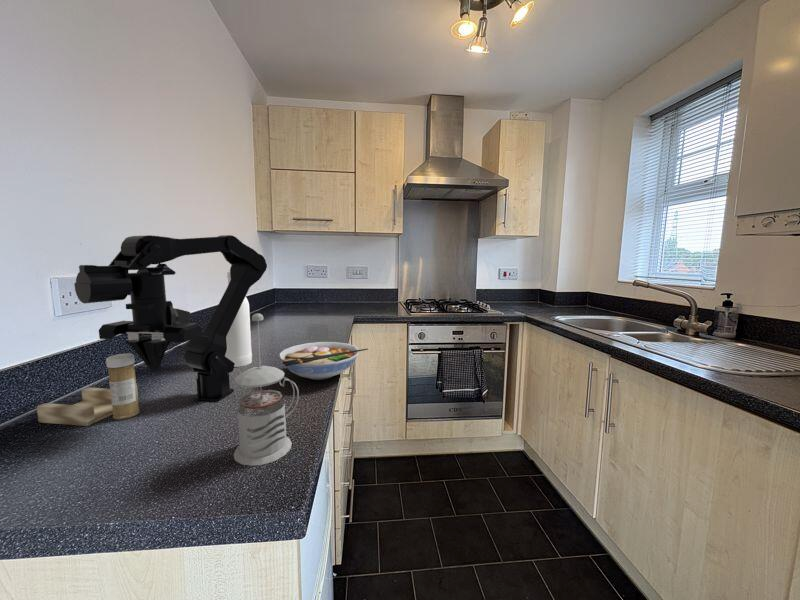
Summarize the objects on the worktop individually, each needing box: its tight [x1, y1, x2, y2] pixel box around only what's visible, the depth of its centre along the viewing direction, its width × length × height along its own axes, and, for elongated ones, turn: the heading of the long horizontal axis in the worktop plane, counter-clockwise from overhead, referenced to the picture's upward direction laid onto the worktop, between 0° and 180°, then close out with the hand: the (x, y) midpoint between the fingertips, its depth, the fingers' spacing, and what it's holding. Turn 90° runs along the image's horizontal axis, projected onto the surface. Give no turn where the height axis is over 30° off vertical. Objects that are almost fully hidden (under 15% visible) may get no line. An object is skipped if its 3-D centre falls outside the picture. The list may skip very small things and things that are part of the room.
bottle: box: [225, 271, 253, 368], centre depth 104 cm, size 8×8×30 cm
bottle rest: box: [36, 387, 113, 427], centre depth 71 cm, size 12×10×4 cm
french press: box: [233, 313, 300, 467], centre depth 58 cm, size 10×12×25 cm
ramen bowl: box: [278, 341, 369, 381], centre depth 95 cm, size 25×23×8 cm
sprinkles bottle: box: [105, 353, 140, 421], centre depth 69 cm, size 5×5×14 cm
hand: (155, 370), depth 68 cm, fingers closed
